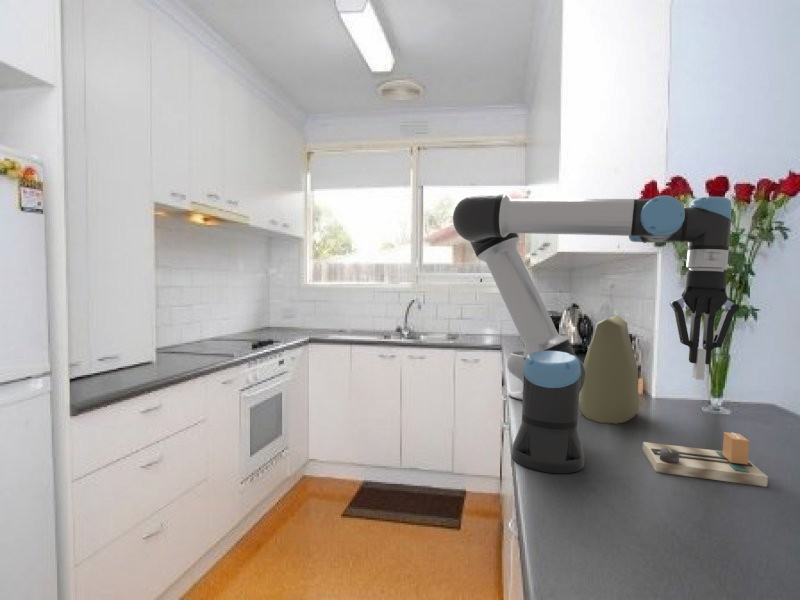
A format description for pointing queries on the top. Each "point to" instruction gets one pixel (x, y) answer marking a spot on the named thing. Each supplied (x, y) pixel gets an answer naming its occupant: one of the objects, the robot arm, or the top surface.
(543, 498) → the top surface
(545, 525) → the top surface
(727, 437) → the fader knob
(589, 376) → the container
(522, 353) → the chalice
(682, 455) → the console
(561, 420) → the robot arm
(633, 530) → the top surface
